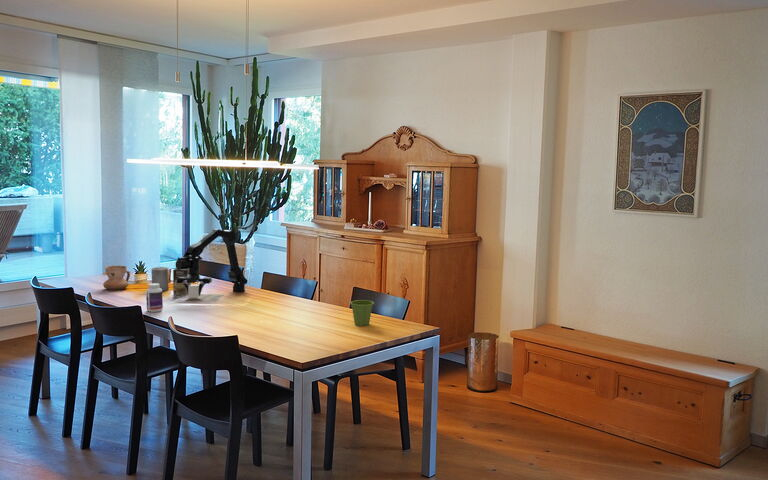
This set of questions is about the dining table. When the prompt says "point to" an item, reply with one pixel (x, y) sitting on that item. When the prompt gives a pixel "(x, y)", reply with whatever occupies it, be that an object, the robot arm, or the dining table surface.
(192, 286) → the white rectangular block
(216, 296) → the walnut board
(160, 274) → the pillar candle
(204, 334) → the dining table surface
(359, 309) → the plant pot
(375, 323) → the dining table surface
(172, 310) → the dining table surface
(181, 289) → the coffee box
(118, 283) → the ceramic jug
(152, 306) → the pill bottle
